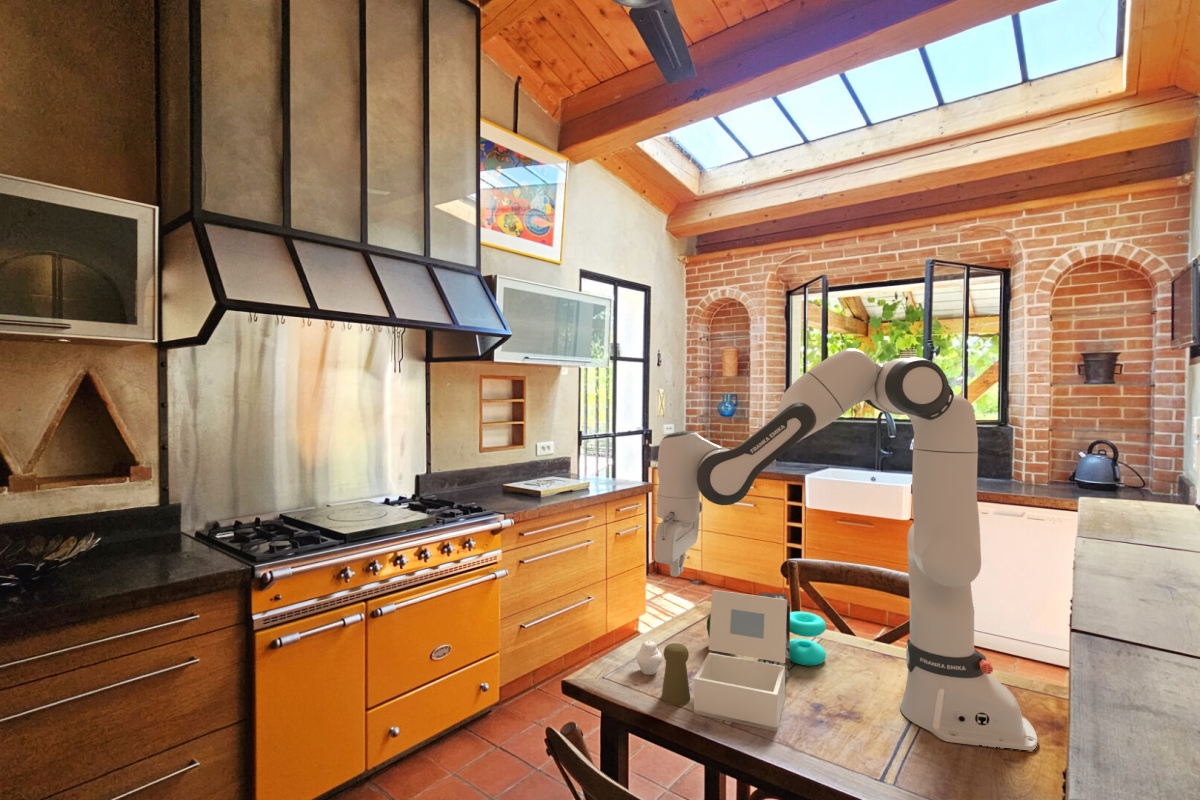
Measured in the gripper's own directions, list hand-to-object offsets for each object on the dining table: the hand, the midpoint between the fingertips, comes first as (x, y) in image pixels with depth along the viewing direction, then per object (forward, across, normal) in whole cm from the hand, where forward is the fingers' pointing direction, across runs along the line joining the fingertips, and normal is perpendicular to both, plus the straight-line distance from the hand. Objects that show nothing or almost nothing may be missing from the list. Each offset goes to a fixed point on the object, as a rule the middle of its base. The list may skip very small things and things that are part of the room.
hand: (676, 574), depth 124 cm
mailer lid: (+12, +9, -13) cm, 20 cm away
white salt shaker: (+26, +9, +9) cm, 29 cm away
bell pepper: (+26, +29, -4) cm, 39 cm away
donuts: (+26, +31, -23) cm, 47 cm away
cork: (+26, 0, 0) cm, 26 cm away
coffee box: (+26, +23, -17) cm, 39 cm away
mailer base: (+26, +2, -13) cm, 29 cm away
